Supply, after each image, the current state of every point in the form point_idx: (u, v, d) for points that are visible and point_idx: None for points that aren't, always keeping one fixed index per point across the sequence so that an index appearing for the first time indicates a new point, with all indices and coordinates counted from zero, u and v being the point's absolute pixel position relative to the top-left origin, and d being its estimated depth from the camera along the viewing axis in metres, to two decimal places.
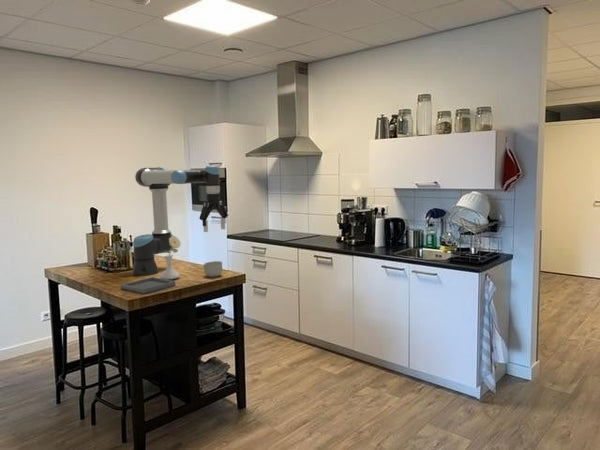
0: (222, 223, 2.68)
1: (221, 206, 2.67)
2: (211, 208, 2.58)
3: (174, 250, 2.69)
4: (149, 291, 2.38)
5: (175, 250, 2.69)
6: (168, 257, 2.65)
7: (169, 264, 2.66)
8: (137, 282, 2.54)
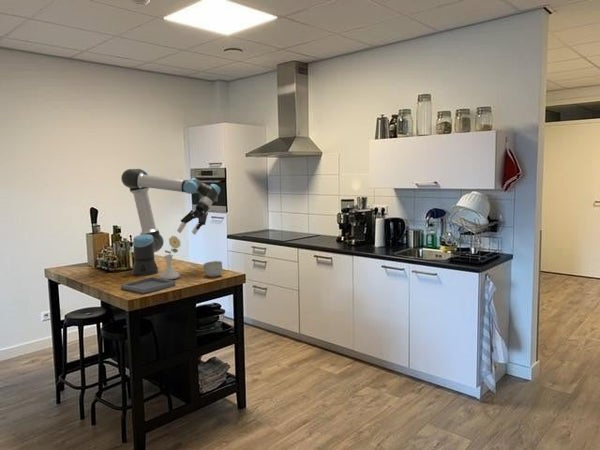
0: (182, 227, 2.81)
1: (190, 214, 2.85)
2: (202, 217, 2.80)
3: (174, 250, 2.69)
4: (149, 291, 2.38)
5: (175, 250, 2.69)
6: (168, 257, 2.65)
7: (169, 264, 2.66)
8: (137, 282, 2.54)
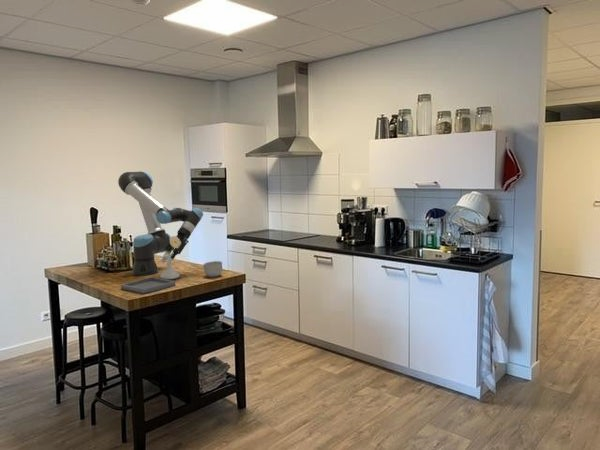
0: (165, 257, 2.67)
1: None
2: None
3: None
4: (149, 291, 2.38)
5: None
6: (168, 257, 2.64)
7: (169, 264, 2.66)
8: (137, 282, 2.54)
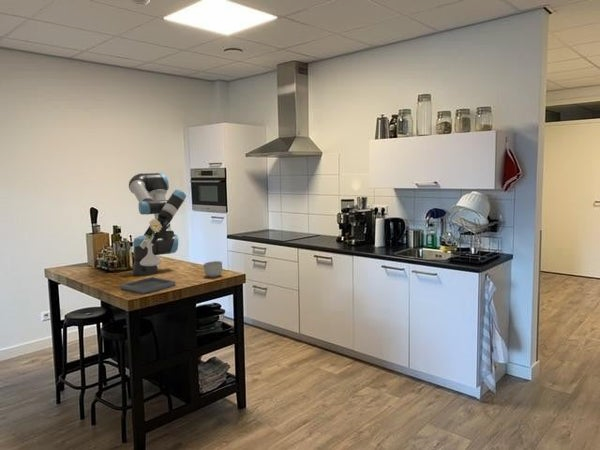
0: (145, 242, 2.48)
1: None
2: None
3: None
4: (149, 291, 2.38)
5: None
6: None
7: (150, 249, 2.47)
8: (137, 282, 2.54)
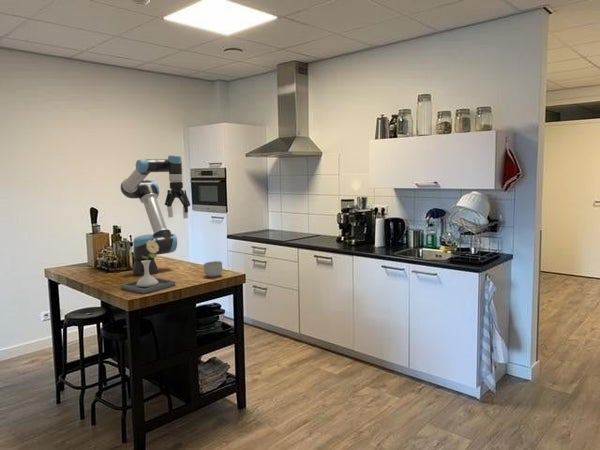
0: (170, 211, 2.76)
1: (170, 195, 2.75)
2: None
3: (152, 255, 2.49)
4: (149, 291, 2.38)
5: (153, 255, 2.50)
6: (145, 263, 2.45)
7: (147, 270, 2.46)
8: None
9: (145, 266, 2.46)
